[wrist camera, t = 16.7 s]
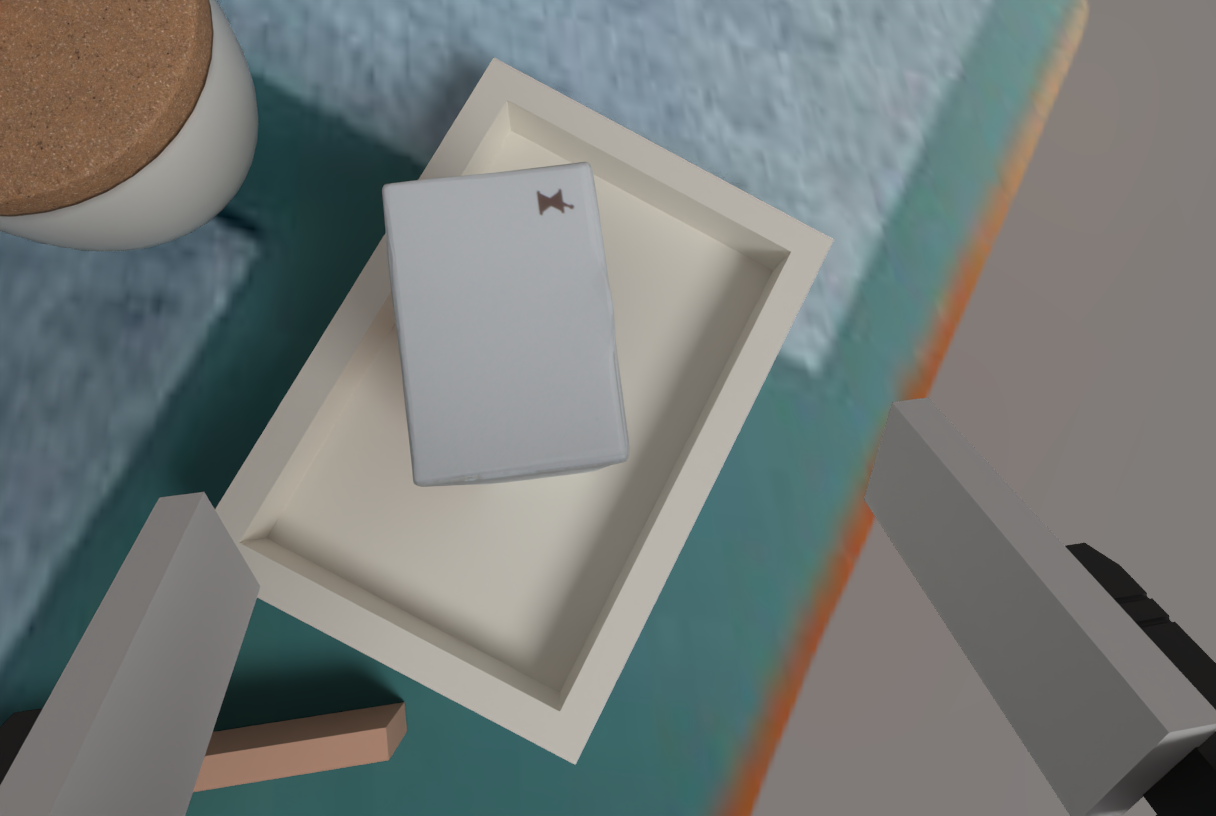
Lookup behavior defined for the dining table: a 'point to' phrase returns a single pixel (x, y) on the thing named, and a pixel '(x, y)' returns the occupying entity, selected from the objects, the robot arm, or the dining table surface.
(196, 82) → the lidded jar
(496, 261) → the skincare box
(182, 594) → the robot arm
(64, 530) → the dining table surface
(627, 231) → the cream tray
